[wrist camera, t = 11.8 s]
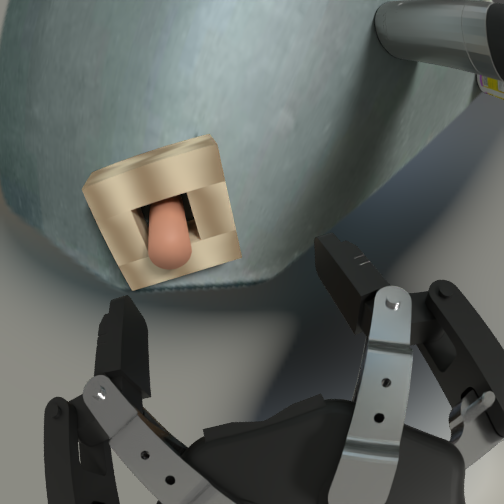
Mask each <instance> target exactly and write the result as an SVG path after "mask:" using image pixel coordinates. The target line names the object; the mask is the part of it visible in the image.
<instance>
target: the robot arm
mask: <svg viewBox="0 0 504 504" xmlns="http://www.w3.org/2000/svg"><path fill="white" fill-rule="evenodd" d="M375 27H376V32H377V35H378V38H379V40H380V42H381V43H382V45H383V46H384V48H385V49H386V50H387V51H388V52H389V53H390V54H391V55H393V56H394V57H396V58H399V59H404V60H411V61H418V62H423V63H429V64H435V65H440V66H445V67H450V68H455V69H459V70H463V71H467V72H471V73H475V74H478V75H482V76H486V77H489V78H493V79H496V80H499V81H502V82H504V4H500V3H492V2H484V1H472V0H403V1H392V2H387V3H384V4H382V5H381V6H380V7H379V9H378V10H377V13H376V17H375ZM314 246H315V265H316V271H317V273H318V276H319V278H320V280H321V281H322V283H323V285H324V286H325V288H326V289H327V291H328V292H329V294H330V296H331V297H332V299H333V300H334V302H335V304H336V305H337V307H338V308H339V310H340V312H341V313H342V315H343V316H344V318H345V320H346V321H347V323H348V324H349V326H350V328H351V330H352V331H353V333H354V334H355V335H356V334H358V333H361V332H364V334H365V335H366V341H365V347H364V352H363V356H362V362H361V366H360V371H359V375H358V379H357V383H356V387H355V391H354V394H353V398H352V401H349V400H343V399H327V400H324V399H323V397H322V395H321V394H319V395H316V396H313V397H311V398H308V399H305V400H303V401H300V402H297V403H294V404H292V405H290V406H289V407H287V408H285V409H284V410H282V411H281V412H279V413H277V414H276V415H274V416H272V417H271V418H269V419H267V420H265V421H259V422H231V423H227V424H223V425H219V426H215V427H211V428H206V429H203V432H204V437H202V438H200V439H198V440H197V441H195V442H194V443H193V444H192V445H191V446H190V447H189V448H188V447H187V446H186V445H184V444H183V443H182V442H180V441H179V440H178V439H176V438H175V437H174V436H173V435H171V434H170V433H169V432H168V431H167V430H166V429H165V428H164V427H163V426H162V425H161V424H160V423H159V422H158V421H157V420H156V419H155V418H154V417H153V416H152V415H151V414H150V413H149V412H148V411H147V410H146V409H145V408H144V407H143V405H142V399H144V398H149V397H151V390H150V376H149V354H148V329H147V325H146V322H145V319H144V318H143V316H142V315H141V313H140V312H139V310H138V309H137V307H136V306H135V304H134V303H133V301H132V300H131V298H130V297H129V296H128V295H126V296H123V297H119V298H116V299H113V300H111V302H110V308H109V313H108V314H105V315H104V317H103V319H102V321H101V323H100V325H99V331H98V336H99V337H98V340H97V345H98V346H97V350H96V360H95V371H94V377H93V378H91V379H90V380H89V381H88V382H87V383H86V385H85V387H84V390H83V394H82V395H80V396H78V397H76V398H75V399H73V400H71V401H69V402H68V401H66V400H65V399H63V398H62V397H55V398H53V399H52V400H50V401H49V403H48V404H47V406H46V408H45V414H44V415H45V416H44V463H45V478H46V489H47V498H48V504H120V503H119V497H118V492H117V488H116V482H115V476H114V469H113V463H112V455H111V448H112V449H113V450H114V451H115V453H116V454H117V455H118V456H119V458H120V459H121V460H122V461H123V462H124V464H125V465H126V466H127V467H128V468H129V469H130V471H132V473H133V474H134V475H135V476H136V477H137V478H138V479H139V480H140V482H141V483H142V484H143V485H144V486H145V487H146V488H147V489H148V490H149V491H150V492H151V493H152V494H153V495H154V496H155V497H156V498H157V499H158V502H157V504H465V498H464V479H465V469H467V468H468V467H469V466H471V465H472V464H473V463H475V462H476V461H477V460H478V459H480V458H481V457H482V456H483V455H485V454H486V453H487V452H489V451H490V450H491V449H492V448H493V447H494V446H496V445H497V444H498V443H500V442H501V441H503V440H504V349H503V348H502V347H501V345H500V343H499V342H498V341H497V339H496V338H495V336H494V335H493V333H492V332H491V330H490V329H489V328H488V326H487V325H486V324H485V322H484V321H483V320H482V318H481V317H480V315H479V314H478V313H477V312H476V310H475V309H474V308H473V306H472V305H471V304H470V303H469V301H468V300H467V299H466V297H465V296H464V295H463V294H462V292H461V291H460V290H459V289H458V288H457V287H456V285H454V284H453V283H451V282H449V281H446V280H437V281H435V282H433V283H432V284H431V285H430V288H429V290H428V291H426V292H419V293H407V292H406V291H405V290H404V289H402V288H400V287H396V286H391V285H390V284H389V283H388V282H387V281H386V280H385V278H384V277H383V276H382V275H381V274H380V272H379V271H378V270H377V269H376V268H375V266H373V264H372V263H371V262H369V260H368V258H367V257H366V256H364V254H363V253H362V251H361V250H360V249H359V248H358V247H357V246H356V245H354V244H352V243H350V242H348V241H343V242H340V240H339V239H338V238H337V237H336V236H335V235H334V234H333V233H328V234H325V235H322V236H319V237H316V238H315V239H314ZM415 344H416V345H417V346H418V348H419V350H420V351H421V353H422V355H423V357H424V358H425V360H426V362H427V363H428V365H429V367H430V368H431V370H432V372H433V374H434V376H435V377H436V379H437V381H438V382H439V384H440V386H441V388H442V390H443V392H444V394H445V395H446V397H447V399H448V401H449V403H450V405H451V407H452V410H451V412H450V414H449V427H450V430H451V439H450V441H447V440H445V439H442V438H439V437H436V436H434V435H431V434H428V433H426V432H423V431H421V430H418V429H416V428H413V427H410V426H408V425H406V424H404V420H405V414H406V408H407V402H408V395H409V387H410V379H411V370H412V360H413V351H412V349H411V348H410V345H415ZM78 442H79V449H80V461H81V464H80V461H79V451H78ZM110 446H111V447H110Z"/></svg>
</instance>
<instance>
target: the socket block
mask: <svg viewBox="0 0 504 504" xmlns="http://www.w3.org/2000/svg"><path fill="white" fill-rule="evenodd" d="M82 191H83V193H84V196H85V198H86V200H87V202H88V205H89V207H90V209H91V211H92V214H93V216H94V218H95V220H96V222H97V224H98V227H99V229H100V231H101V233H102V235H103V237H104V239H105V241H106V243H107V245H108V247H109V249H110V251H111V253H112V255H113V257H114V259H115V260H116V262H117V264H118V266H119V268H120V270H121V272H122V273H123V275H124V277H125V279H126V281H127V282H128V284H129V286H130V288H131V289H132V291H134V290H137V289H140V288H144V287H147V286H150V285H154V284H157V283H160V282H163V281H167V280H170V279H173V278H177V277H180V276H183V275H186V274H190V273H193V272H196V271H200V270H203V269H206V268H209V267H213V266H216V265H219V264H223V263H226V262H229V261H232V260H236V259H239V258H242V255H241V251H240V246H239V242H238V237H237V233H236V228H235V224H234V219H233V215H232V210H231V205H230V201H229V196H228V192H227V187H226V183H225V178H224V173H223V169H222V164H221V159H220V155H219V150H218V145H217V143H216V142H215V140H214V139H213V138H212V136H211V135H210V134H207V135H203V136H199V137H196V138H192V139H188V140H185V141H181V142H178V143H175V144H171V145H168V146H165V147H161V148H158V149H155V150H152V151H149V152H146V153H143V154H140V155H137V156H134V157H131V158H129V159H126V160H123V161H120V162H118V163H115V164H112V165H110V166H107V167H104V168H102V169H99V170H97V171H94V172H92V174H91V175H90V177H89V178H88V180H87V181H86V183H85V185H84V186H83V188H82ZM186 192H187V195H188V199H189V202H190V205H191V209H192V212H193V216H194V220H190V221H187V227H188V232H189V238H190V243H191V248H192V253H191V257H190V259H189V260H188V262H187V263H186V264H184V265H183V266H181V267H179V268H177V269H171V270H167V269H162V268H159V267H157V266H156V265H154V264H153V263H152V261H151V260H150V258H149V255H148V238H149V228H148V225H147V223H146V220H145V218H144V215H143V213H142V210H141V208H140V207H142V206H145V205H148V204H151V203H154V202H157V201H160V200H163V199H166V198H169V197H172V196H176V195H179V194H182V193H186Z"/></svg>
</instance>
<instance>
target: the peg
mask: <svg viewBox="0 0 504 504" xmlns="http://www.w3.org/2000/svg"><path fill="white" fill-rule="evenodd" d="M191 253H192V248H191V243H190V238H189V232H188V227H187V222H186V217H185V211H184V206H183V200H182V198H181V196H180V194H179V195H176V196H172V197H169V198H166V199H163V200H160V201H157V202H154V203H151V204H150V213H149V238H148V255H149V258H150V260H151V261H152V263H153V264H154V265H156V266H157V267H159V268H162V269H167V270H171V269H177V268H179V267H181V266H183V265H184V264H186V263H187V262H188V260H189V259H190V257H191Z"/></svg>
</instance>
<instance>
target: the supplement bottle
mask: <svg viewBox="0 0 504 504" xmlns="http://www.w3.org/2000/svg"><path fill="white" fill-rule="evenodd" d="M477 82H478V85H479V87H480V89H481V91H482V92H484V93H486V94H489V95H492V96H495V97H497V98H500V99H503V100H504V82H502V81H499V80H496V79H493V78H489V77H486V76H482V75H478V74H477Z"/></svg>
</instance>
